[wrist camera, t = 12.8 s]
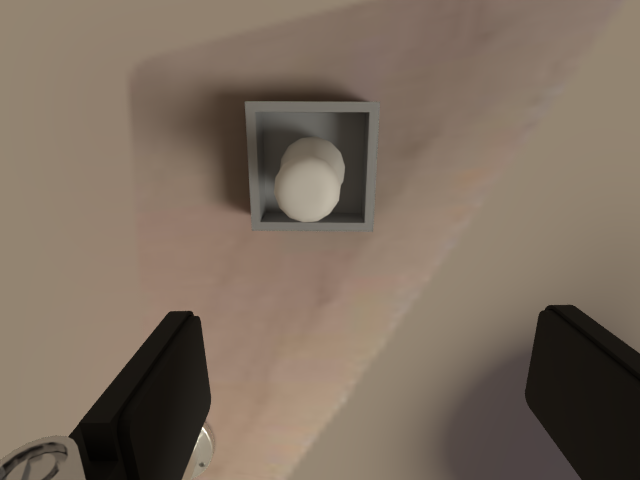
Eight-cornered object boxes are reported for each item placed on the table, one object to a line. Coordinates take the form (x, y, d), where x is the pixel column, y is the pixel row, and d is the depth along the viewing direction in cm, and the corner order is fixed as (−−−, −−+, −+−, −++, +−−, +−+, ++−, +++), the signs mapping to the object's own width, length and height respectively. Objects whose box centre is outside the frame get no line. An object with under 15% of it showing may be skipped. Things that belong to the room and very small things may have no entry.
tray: (367, 218, 38) (373, 231, 33) (260, 217, 38) (251, 230, 33) (373, 103, 34) (379, 101, 30) (254, 103, 34) (244, 101, 30)
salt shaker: (338, 200, 36) (345, 243, 24) (280, 193, 36) (256, 232, 24) (347, 139, 34) (359, 151, 22) (286, 131, 34) (263, 138, 22)
